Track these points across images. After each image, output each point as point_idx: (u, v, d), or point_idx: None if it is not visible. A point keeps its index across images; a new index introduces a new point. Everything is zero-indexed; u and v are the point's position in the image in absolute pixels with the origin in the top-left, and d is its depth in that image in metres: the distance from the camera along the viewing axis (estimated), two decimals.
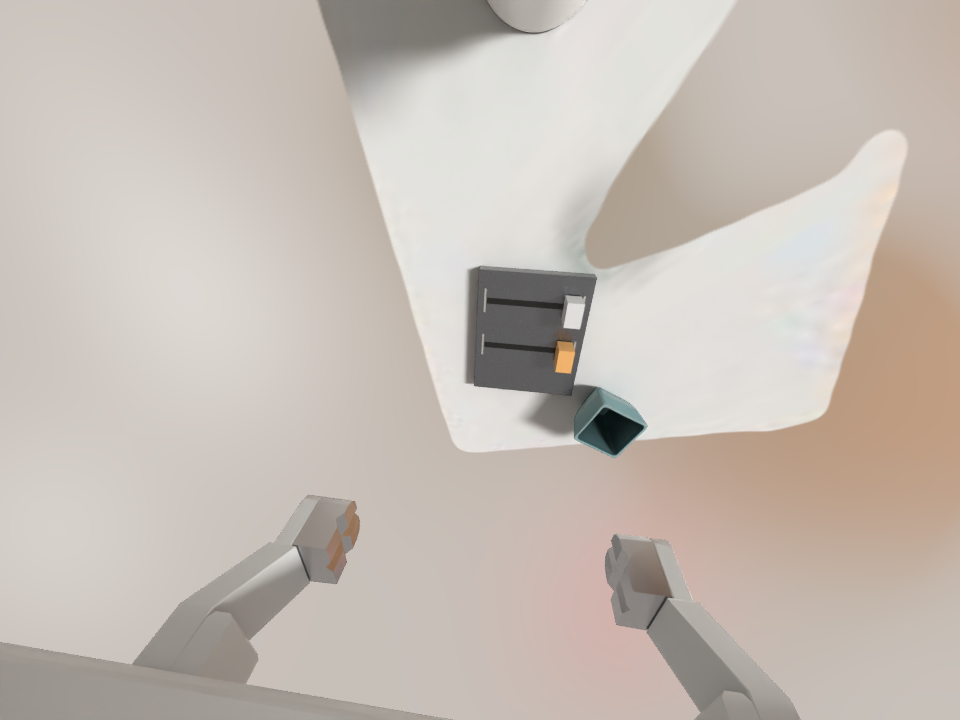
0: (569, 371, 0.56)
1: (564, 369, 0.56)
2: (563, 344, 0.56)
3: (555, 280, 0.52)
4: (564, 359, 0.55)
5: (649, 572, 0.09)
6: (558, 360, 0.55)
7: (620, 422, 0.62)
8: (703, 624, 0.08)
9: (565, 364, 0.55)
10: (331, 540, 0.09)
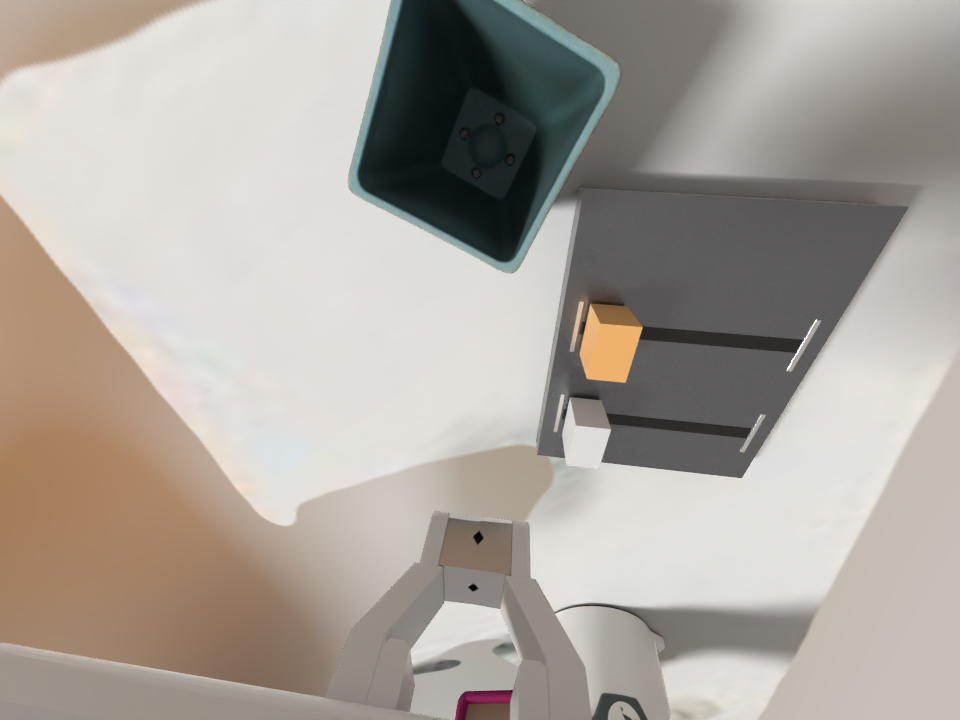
0: (603, 329, 0.21)
1: (616, 334, 0.21)
2: None
3: (606, 455, 0.31)
4: (614, 361, 0.22)
5: (497, 552, 0.09)
6: (630, 358, 0.21)
7: (422, 105, 0.18)
8: (530, 599, 0.08)
9: (612, 348, 0.21)
10: (475, 560, 0.09)
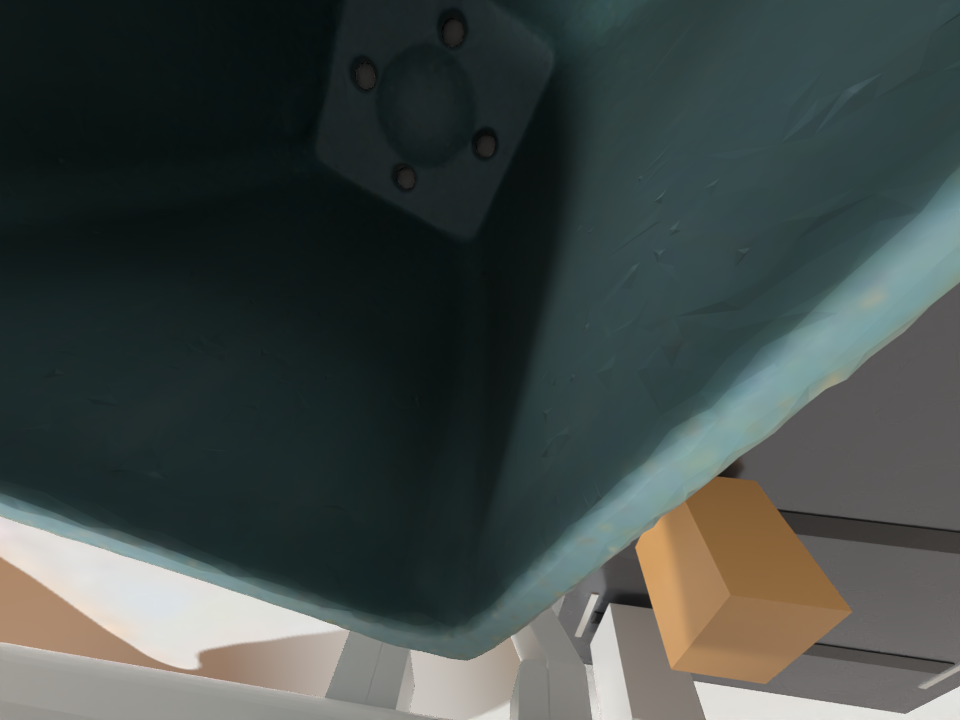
0: (735, 605, 0.08)
1: (770, 615, 0.08)
2: None
3: None
4: (748, 654, 0.09)
5: None
6: (791, 653, 0.08)
7: None
8: None
9: (751, 636, 0.08)
10: None
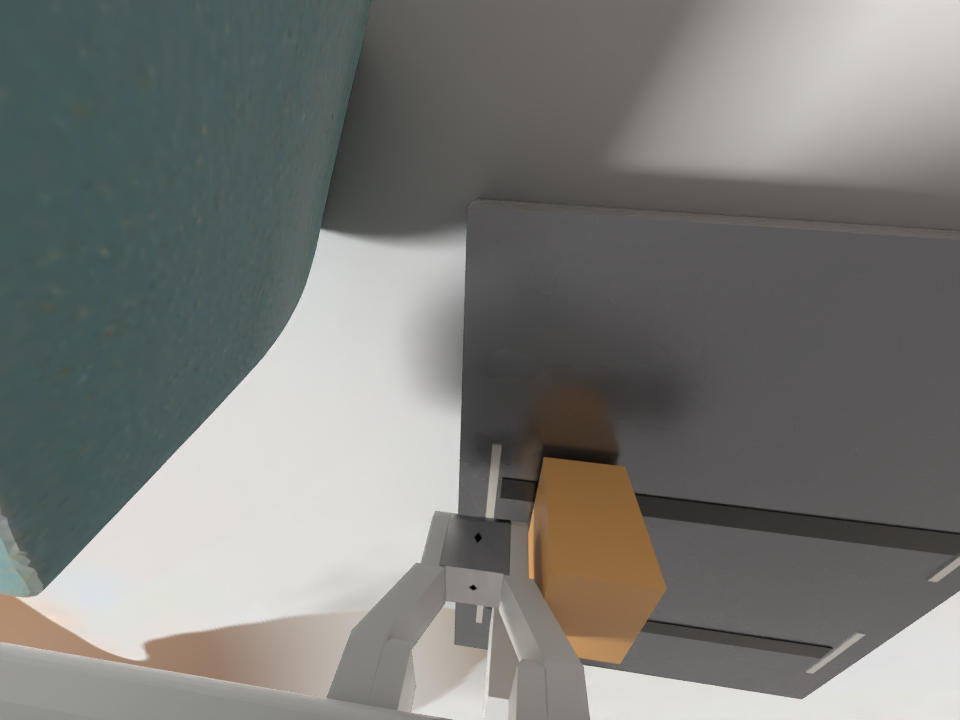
0: (560, 583, 0.08)
1: (595, 593, 0.08)
2: None
3: None
4: (592, 633, 0.09)
5: (495, 551, 0.09)
6: (631, 632, 0.09)
7: None
8: (529, 598, 0.08)
9: (587, 615, 0.08)
10: (476, 560, 0.09)
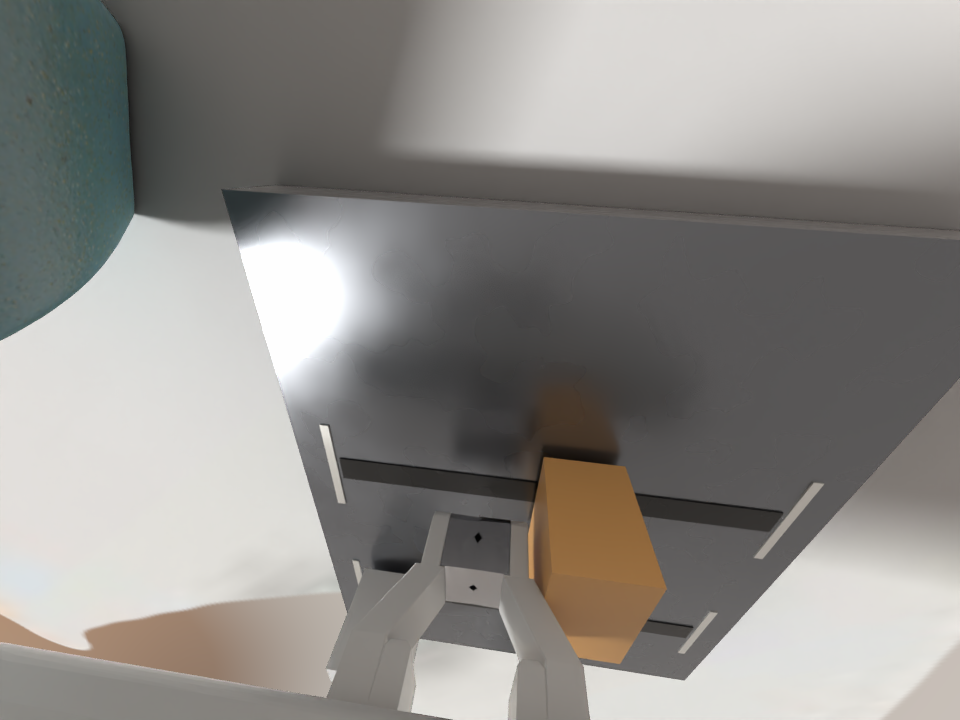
0: (560, 583, 0.08)
1: (595, 593, 0.08)
2: None
3: (459, 637, 0.18)
4: (592, 633, 0.09)
5: (495, 551, 0.09)
6: (631, 632, 0.09)
7: None
8: (529, 599, 0.08)
9: (587, 615, 0.08)
10: (476, 560, 0.09)
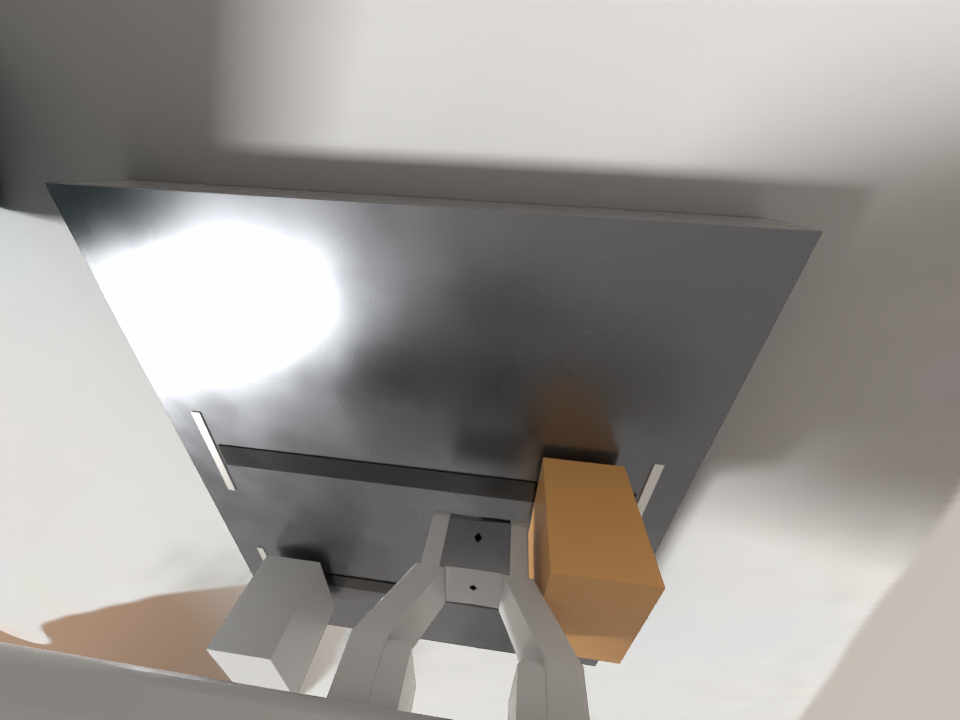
0: (559, 582, 0.08)
1: (595, 593, 0.08)
2: None
3: None
4: (591, 633, 0.09)
5: (495, 551, 0.09)
6: (630, 631, 0.09)
7: None
8: (528, 599, 0.08)
9: (586, 614, 0.08)
10: (476, 560, 0.09)
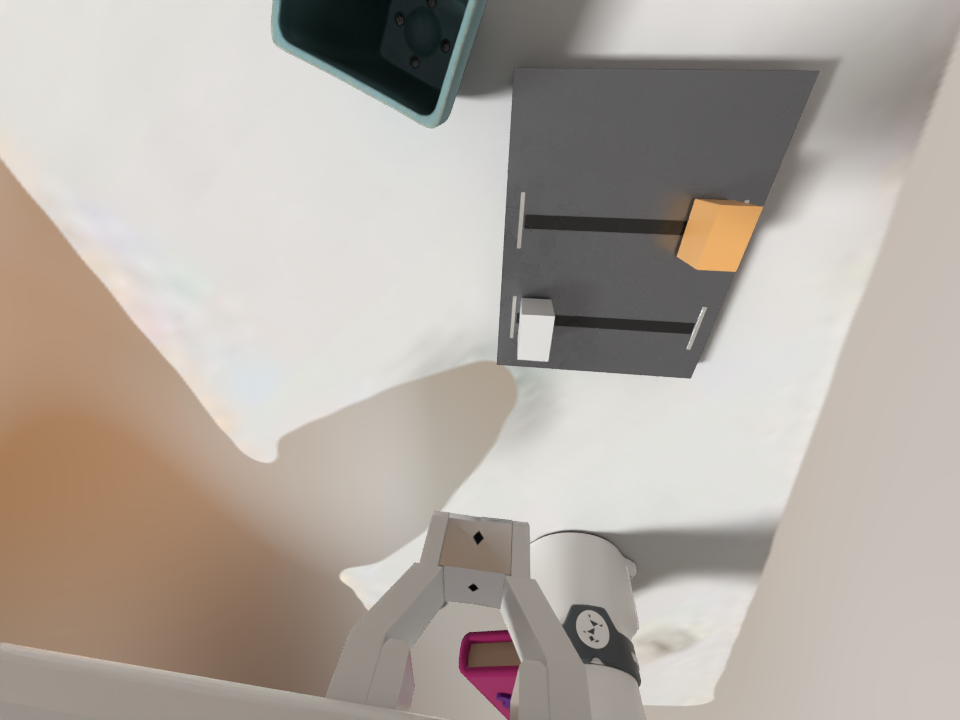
0: (722, 211, 0.21)
1: (735, 216, 0.21)
2: None
3: (562, 361, 0.32)
4: (728, 248, 0.22)
5: (497, 552, 0.09)
6: (744, 244, 0.22)
7: None
8: (530, 599, 0.08)
9: (728, 233, 0.22)
10: (475, 560, 0.09)
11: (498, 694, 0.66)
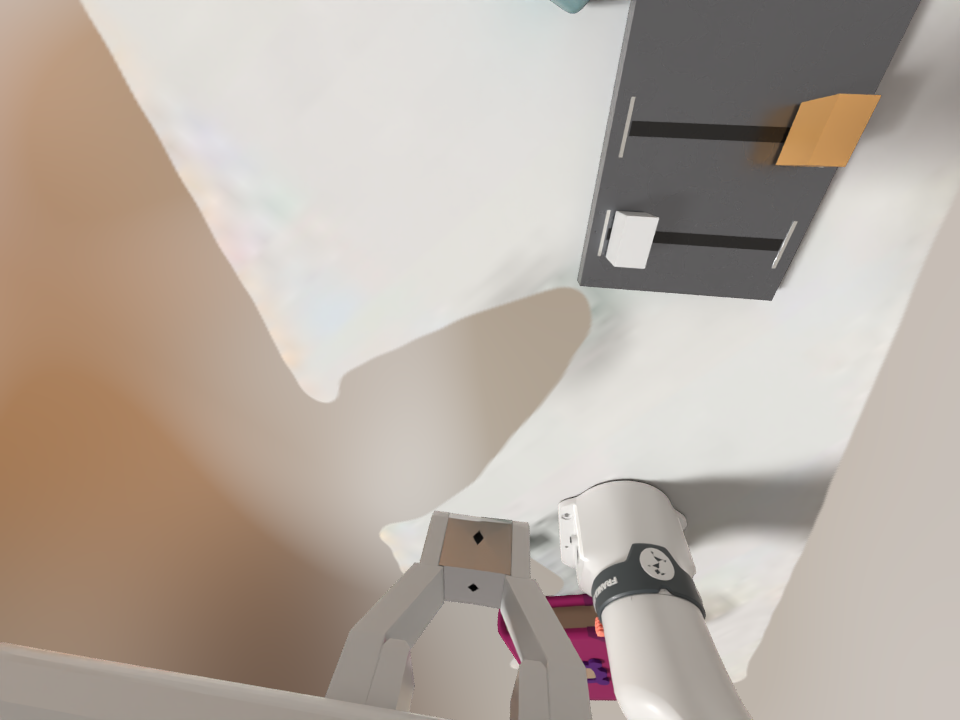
0: (840, 100, 0.22)
1: (852, 105, 0.22)
2: None
3: (645, 282, 0.33)
4: (841, 140, 0.23)
5: (497, 552, 0.09)
6: (857, 136, 0.23)
7: None
8: (530, 599, 0.08)
9: (843, 124, 0.23)
10: (475, 560, 0.09)
11: None
